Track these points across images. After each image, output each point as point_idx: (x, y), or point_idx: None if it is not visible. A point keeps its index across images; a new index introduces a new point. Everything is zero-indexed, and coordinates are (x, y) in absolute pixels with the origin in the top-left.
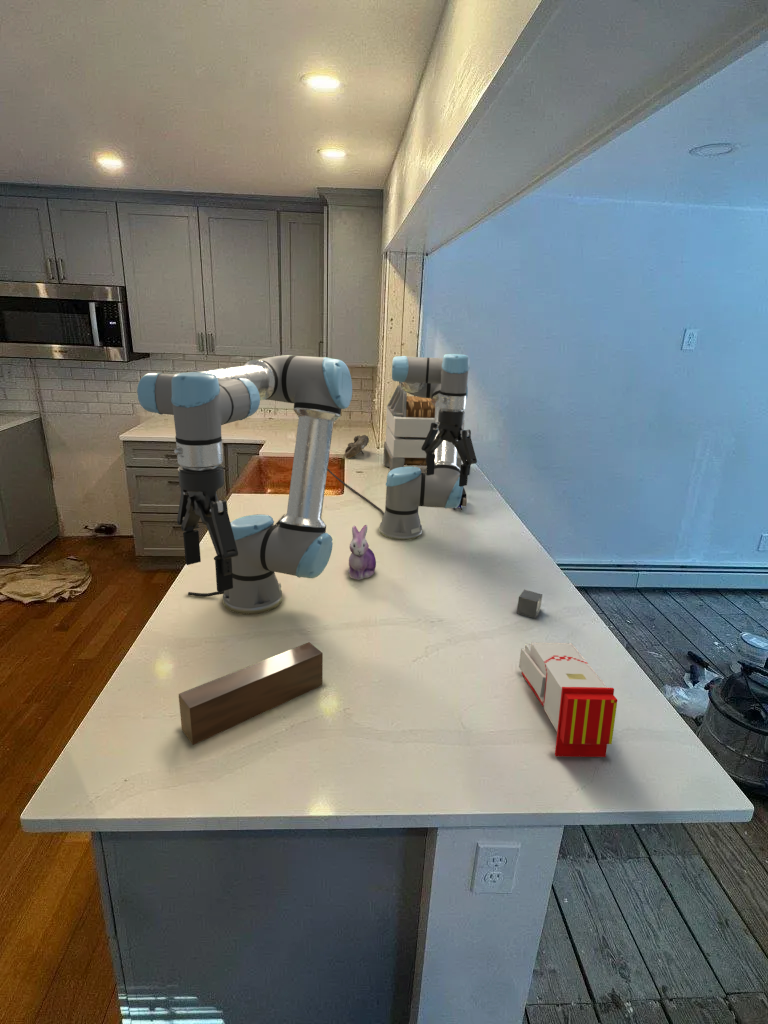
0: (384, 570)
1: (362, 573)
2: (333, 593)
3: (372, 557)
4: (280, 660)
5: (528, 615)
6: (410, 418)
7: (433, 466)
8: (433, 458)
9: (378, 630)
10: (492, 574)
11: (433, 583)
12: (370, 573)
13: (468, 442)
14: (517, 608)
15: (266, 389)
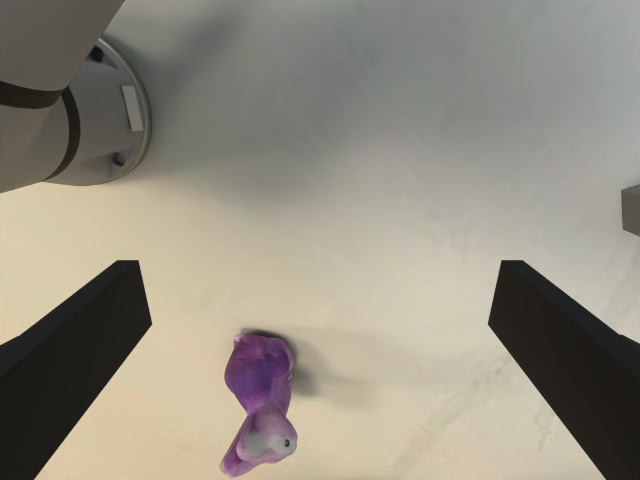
0: (282, 313)
1: (288, 378)
2: (306, 430)
3: (279, 374)
4: None
5: None
6: None
7: (98, 314)
8: (29, 389)
9: (448, 441)
10: (479, 106)
11: (401, 272)
12: (289, 357)
13: None
14: (634, 233)
15: None
